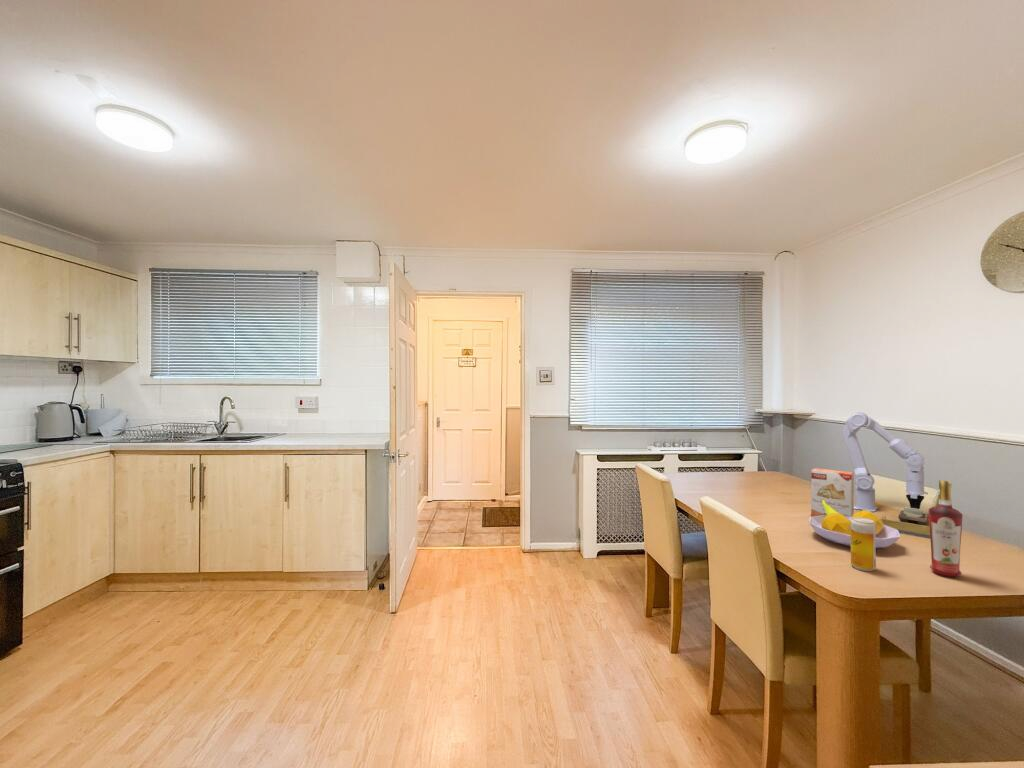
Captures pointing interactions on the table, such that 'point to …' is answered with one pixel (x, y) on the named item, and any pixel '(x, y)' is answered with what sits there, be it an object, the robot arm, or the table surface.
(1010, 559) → the table surface
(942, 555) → the liquor
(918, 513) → the square caster platform
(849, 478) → the cracker box
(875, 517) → the fruit bowl
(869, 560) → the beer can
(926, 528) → the plate
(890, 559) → the table surface
